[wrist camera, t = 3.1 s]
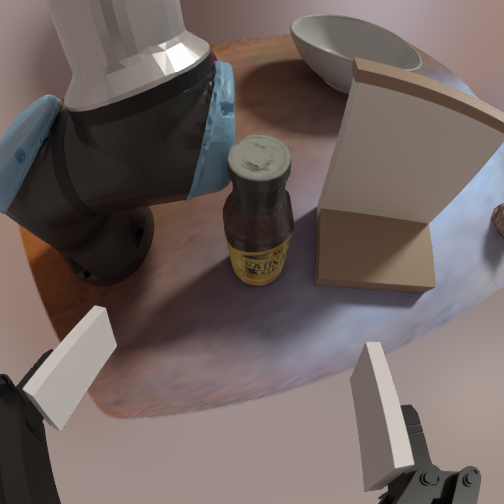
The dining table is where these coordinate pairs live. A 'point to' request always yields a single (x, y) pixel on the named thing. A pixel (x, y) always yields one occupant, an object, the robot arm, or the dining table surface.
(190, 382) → the dining table surface
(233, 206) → the sauce bottle
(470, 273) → the dining table surface
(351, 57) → the decorative bowl
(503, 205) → the figurine
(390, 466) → the robot arm
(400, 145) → the upright board stand
